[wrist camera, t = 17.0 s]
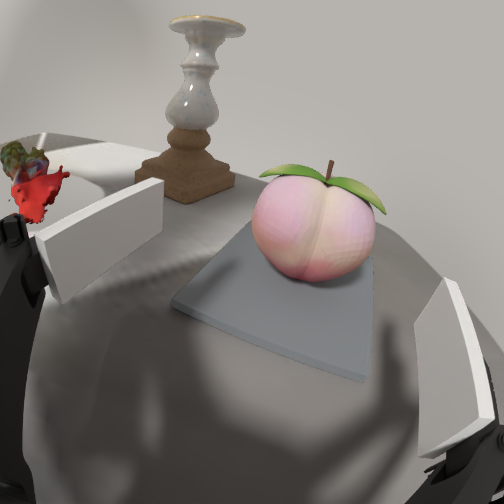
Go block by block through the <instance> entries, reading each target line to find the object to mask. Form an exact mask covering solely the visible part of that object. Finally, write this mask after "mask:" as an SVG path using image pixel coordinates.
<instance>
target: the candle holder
mask: <svg viewBox="0 0 504 504" xmlns="http://www.w3.org/2000/svg"><path fill="white" fill-rule="evenodd" d="M169 27H170V29H171V30H173V31H175V32H178V33H182V34H185V38H186V41H187V42H188V44H189V54H188V55H187V57H186V58H185V59H184V61H183V62H182V63H181V64H180V66H181V67H182V68H183V72H184V75H185V81H184V84H183V85H182V87H181V88H180V90H179V91H178V92H177V94H176V95H175V96H174V97H173V98H172V100H171V101H170V103H169V104H168V106H167V109H166V119H167V120H168V121H169V123H170V124H172V125H173V126H174V128H173V130H172V131H170V133H169V134H168V136H167V141H168V143H169V144H170V146H171V148H169V149H168V150H166V151H165V152H163V153H162V154H161V155H160V156H159V157H155V158H151V159H148V160H145V161H143V162H142V167H141V168H140V169H139V170H136V171H135V184H137V183H139V182H142V181H144V180H147V179H149V178H152V177H153V178H157V179H161V180H164V196H166V197H168V198H171V199H173V200H175V201H178V202H181V203H184V204H190V203H193V202H195V201H198V200H201V199H203V198H205V197H208V196H210V195H213V194H215V193H218V192H221V191H223V190H226V189H228V188H230V187H233V186H234V180H235V174H233V173H231V172H230V171H229V169H230V166H229V164H227V163H224V162H221V161H218V160H215V159H214V158H213V157H212V155H210V154H209V153H208V152H207V151H206V150H205V148H206V147H207V146H208V145H209V144H210V135H209V134H208V132H207V131H206V129H207V128H208V127H210V126H212V125H213V124H214V123H215V122H216V121H217V119H218V116H219V111H218V107H217V104H216V102H215V99H214V97H213V95H212V93H211V90H210V86H209V81H210V78H211V77H212V75H213V74H214V72H215V70H218V69H219V66H218V64H217V62H216V59H215V52H216V50H217V48H218V47H219V46H220V45H221V44H222V43H223V42H224V41H225V38H234V37H240V36H243V35H244V34H245V31H246V29H245V27H244V26H243V25H242V24H240V23H238V22H235V21H232V20H229V19H225V18H220V17H214V16H202V15H193V16H182V17H178V18H175V19H173V20H172V21H171V22H170V24H169Z"/></svg>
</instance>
